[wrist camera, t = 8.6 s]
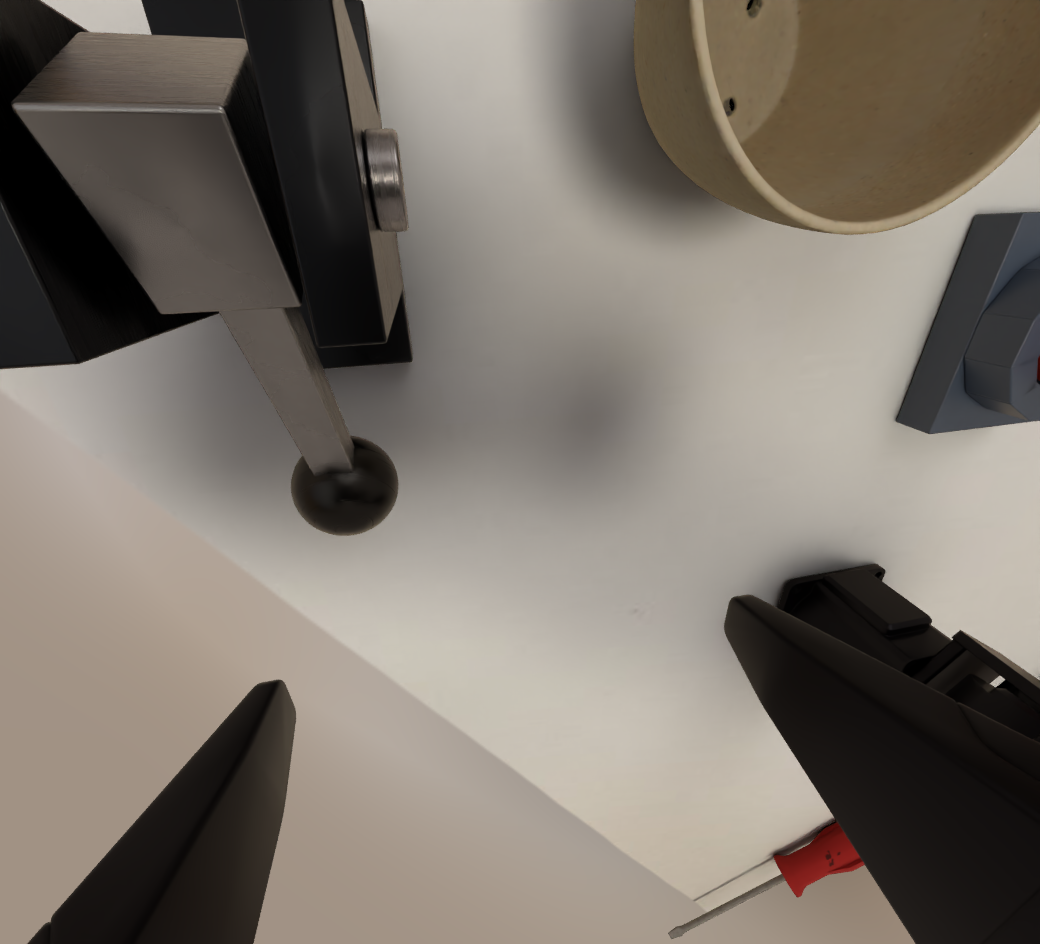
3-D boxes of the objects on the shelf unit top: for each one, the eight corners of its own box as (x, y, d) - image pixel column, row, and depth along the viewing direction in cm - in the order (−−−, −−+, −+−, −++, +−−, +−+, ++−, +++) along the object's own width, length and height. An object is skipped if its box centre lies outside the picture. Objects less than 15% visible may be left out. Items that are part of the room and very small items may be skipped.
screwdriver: (657, 903, 47) (661, 933, 44) (873, 790, 45) (894, 812, 41) (678, 937, 47) (683, 971, 43) (897, 824, 44) (921, 850, 40)
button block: (1007, 408, 24) (1095, 433, 21) (895, 421, 22) (971, 450, 19) (1105, 211, 19) (1234, 205, 16) (974, 214, 18) (1086, 209, 15)
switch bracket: (426, 353, 16) (438, 476, 8) (249, 366, 15) (42, 522, 7) (386, 20, 12) (316, -491, 4) (139, 8, 11) (-738, -730, 3)
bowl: (650, 295, 17) (786, 326, 11) (496, -20, 12) (578, -290, 6) (885, 118, 16) (1188, 37, 10) (816, -306, 11) (1323, -1001, 5)
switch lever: (402, 465, 17) (407, 543, 15) (312, 475, 16) (307, 558, 15) (289, 30, 7) (267, 122, 5) (41, 17, 6) (-71, 118, 5)
